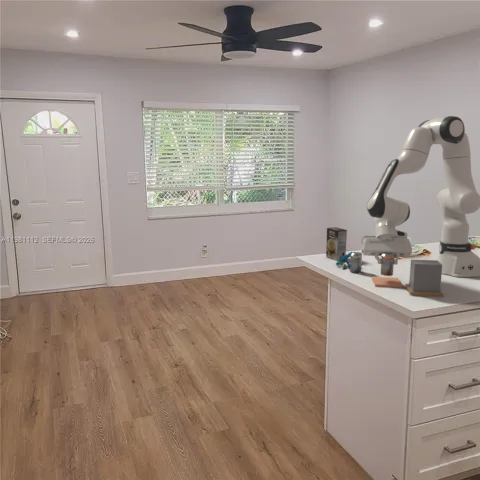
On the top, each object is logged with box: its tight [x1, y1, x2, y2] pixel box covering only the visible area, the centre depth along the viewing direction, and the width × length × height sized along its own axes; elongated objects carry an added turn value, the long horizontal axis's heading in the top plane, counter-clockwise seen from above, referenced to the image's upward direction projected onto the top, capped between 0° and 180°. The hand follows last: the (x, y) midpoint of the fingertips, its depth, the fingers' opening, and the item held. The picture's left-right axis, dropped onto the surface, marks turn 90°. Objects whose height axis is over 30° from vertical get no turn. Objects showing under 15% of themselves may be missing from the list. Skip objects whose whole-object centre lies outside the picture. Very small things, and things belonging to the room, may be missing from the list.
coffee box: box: [325, 226, 348, 262], centre depth 225 cm, size 9×6×16 cm
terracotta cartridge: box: [380, 253, 396, 277], centre depth 181 cm, size 5×5×9 cm
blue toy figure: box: [335, 251, 353, 269], centre depth 210 cm, size 11×6×10 cm
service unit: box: [404, 259, 444, 298], centre depth 169 cm, size 12×10×12 cm
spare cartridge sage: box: [349, 251, 363, 274], centre depth 200 cm, size 5×5×9 cm
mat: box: [371, 276, 404, 288], centre depth 182 cm, size 11×11×1 cm
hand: (387, 263), depth 180 cm, fingers closed on terracotta cartridge, 5 cm apart
